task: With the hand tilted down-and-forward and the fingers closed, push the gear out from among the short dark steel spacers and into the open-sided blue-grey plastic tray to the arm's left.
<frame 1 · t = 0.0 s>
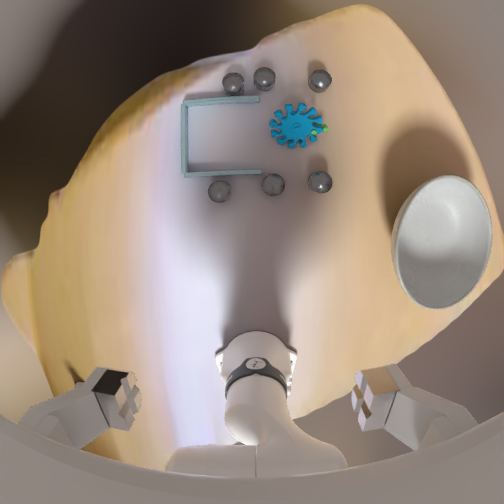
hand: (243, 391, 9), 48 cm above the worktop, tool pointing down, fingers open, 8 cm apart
spacers: (276, 130, 52), on the worktop
decorative bowl: (420, 234, 56), on the worktop
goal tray: (222, 136, 52), on the worktop
gear: (296, 130, 52), on the worktop
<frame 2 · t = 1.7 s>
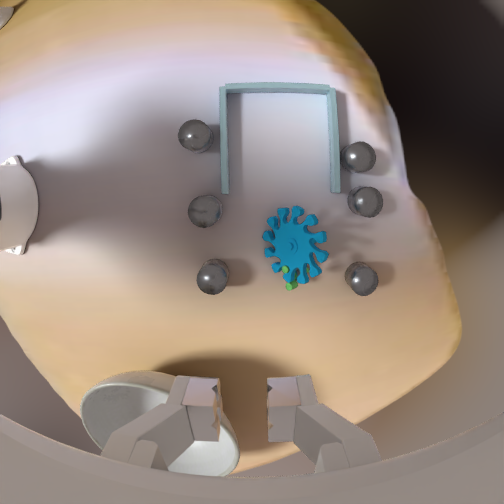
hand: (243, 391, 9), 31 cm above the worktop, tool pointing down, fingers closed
spacers: (288, 214, 39), on the worktop
decorative bowl: (171, 399, 47), on the worktop
flask: (5, 19, 27), on the worktop
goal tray: (279, 138, 36), on the worktop
gear: (289, 243, 40), on the worktop
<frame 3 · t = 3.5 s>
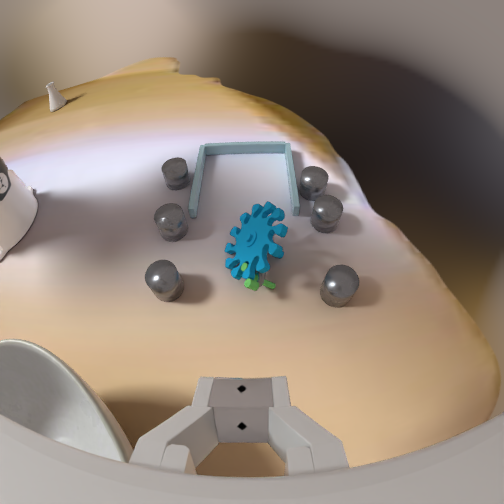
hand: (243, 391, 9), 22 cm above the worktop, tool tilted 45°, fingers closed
spacers: (251, 233, 39), on the worktop
decorative bowl: (82, 462, 22), on the worktop
flask: (59, 106, 70), on the worktop
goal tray: (244, 180, 45), on the worktop
gear: (254, 260, 37), on the worktop
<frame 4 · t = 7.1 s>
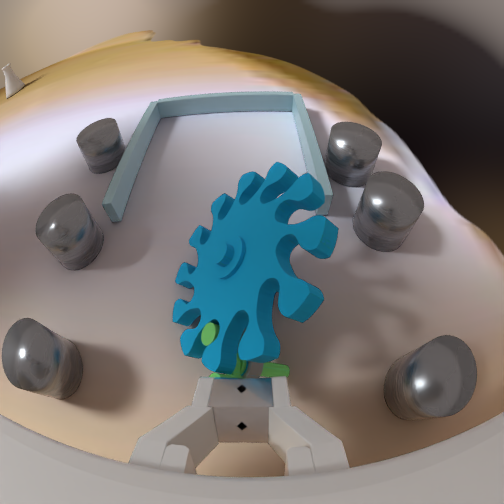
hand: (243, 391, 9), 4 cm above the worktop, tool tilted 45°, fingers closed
spacers: (226, 255, 18), on the worktop
flask: (16, 92, 49), on the worktop
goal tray: (220, 150, 23), on the worktop
gear: (241, 305, 16), on the worktop, touching gripper
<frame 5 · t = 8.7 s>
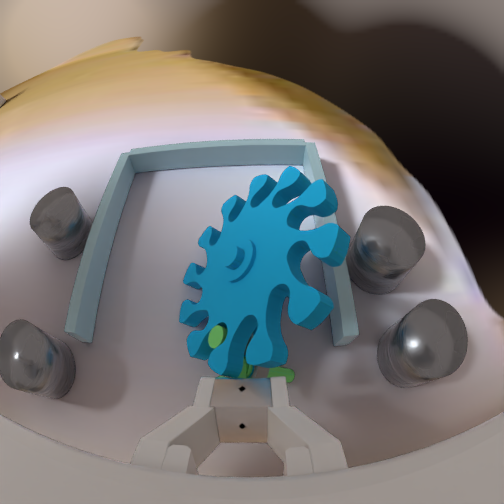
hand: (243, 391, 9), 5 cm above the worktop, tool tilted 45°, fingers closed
spacers: (222, 408, 13), on the worktop
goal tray: (209, 236, 18), on the worktop
gear: (248, 308, 16), on the worktop, touching gripper
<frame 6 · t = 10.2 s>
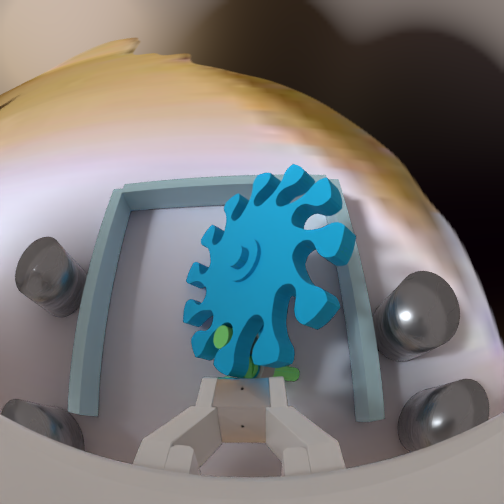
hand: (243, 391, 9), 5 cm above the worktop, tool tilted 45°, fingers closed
spacers: (241, 485, 10), on the worktop
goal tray: (220, 299, 16), on the worktop
gear: (252, 306, 16), on the worktop, touching gripper
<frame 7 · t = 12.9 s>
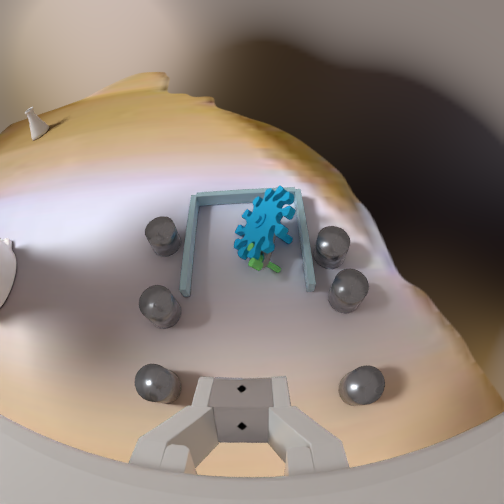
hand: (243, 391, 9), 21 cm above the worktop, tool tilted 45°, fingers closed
spacers: (257, 319, 32), on the worktop
flask: (41, 133, 65), on the worktop
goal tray: (246, 242, 37), on the worktop
gear: (263, 244, 38), on the worktop
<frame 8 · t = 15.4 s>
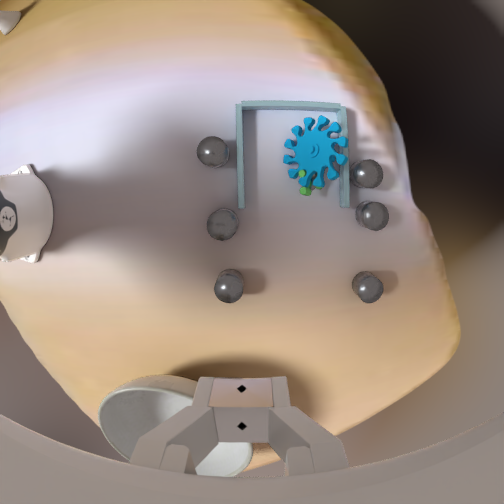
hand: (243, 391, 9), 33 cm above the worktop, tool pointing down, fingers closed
spacers: (300, 227, 41), on the worktop
decorative bowl: (184, 401, 49), on the worktop
flask: (12, 23, 30), on the worktop
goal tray: (292, 155, 39), on the worktop
gear: (308, 157, 39), on the worktop
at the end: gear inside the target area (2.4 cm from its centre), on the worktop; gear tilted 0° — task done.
